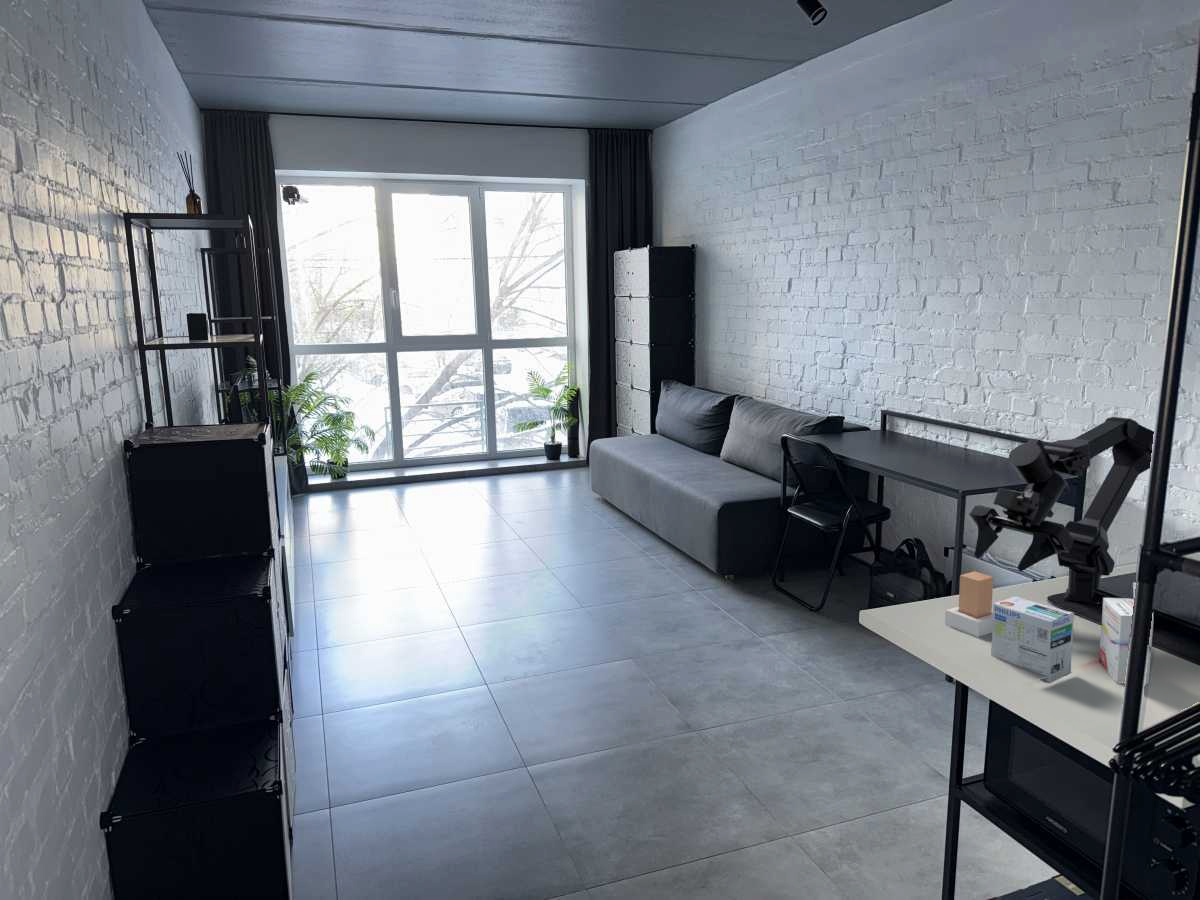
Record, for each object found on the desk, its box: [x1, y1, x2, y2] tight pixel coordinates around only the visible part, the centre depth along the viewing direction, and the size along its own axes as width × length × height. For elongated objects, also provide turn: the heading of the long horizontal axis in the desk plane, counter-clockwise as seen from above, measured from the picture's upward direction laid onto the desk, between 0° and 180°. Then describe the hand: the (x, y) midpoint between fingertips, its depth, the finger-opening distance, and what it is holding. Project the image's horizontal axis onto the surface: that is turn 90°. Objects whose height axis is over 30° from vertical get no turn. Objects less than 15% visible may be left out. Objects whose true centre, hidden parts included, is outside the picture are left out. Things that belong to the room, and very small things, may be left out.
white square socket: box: [944, 605, 993, 638], centre depth 160 cm, size 7×7×3 cm
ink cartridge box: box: [1098, 581, 1155, 686], centre depth 140 cm, size 9×5×15 cm, turn 168°
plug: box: [958, 570, 994, 619], centre depth 159 cm, size 4×4×10 cm
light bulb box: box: [990, 595, 1075, 684], centre depth 144 cm, size 11×7×11 cm, turn 32°
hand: (997, 563), depth 161 cm, fingers open, 9 cm apart
